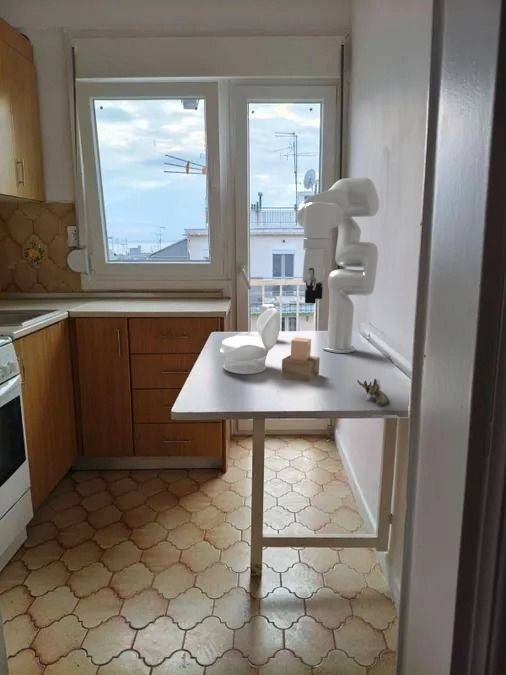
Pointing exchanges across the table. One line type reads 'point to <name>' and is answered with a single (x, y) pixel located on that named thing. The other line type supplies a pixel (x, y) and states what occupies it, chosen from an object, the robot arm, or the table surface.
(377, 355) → the table surface
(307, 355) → the peach block
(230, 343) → the white toilet model
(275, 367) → the table surface
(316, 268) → the robot arm
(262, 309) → the white rounded tall piece
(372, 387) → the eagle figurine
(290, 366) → the walnut block
